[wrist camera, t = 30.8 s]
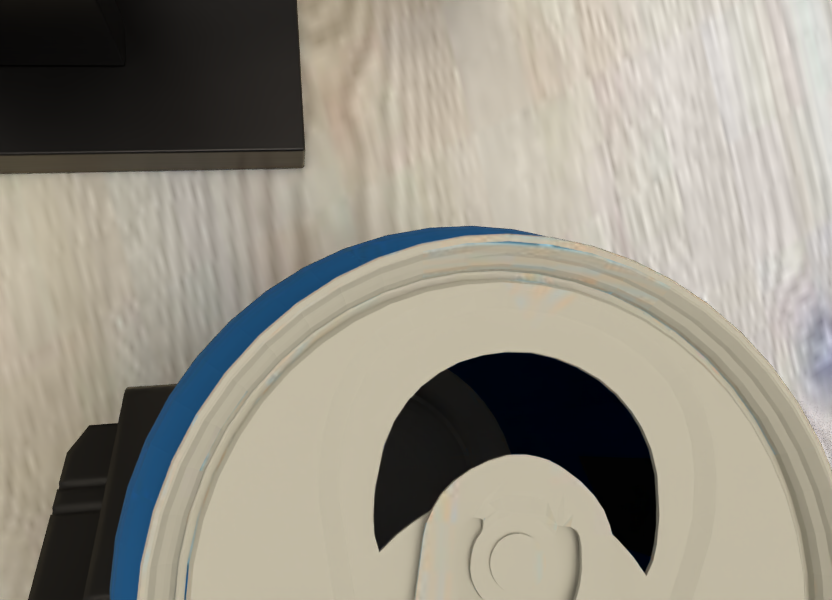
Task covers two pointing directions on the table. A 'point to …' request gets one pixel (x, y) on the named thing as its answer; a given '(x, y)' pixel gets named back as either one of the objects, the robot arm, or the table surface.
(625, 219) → the table surface
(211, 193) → the table surface
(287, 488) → the beverage can
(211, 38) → the bracket
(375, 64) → the table surface
